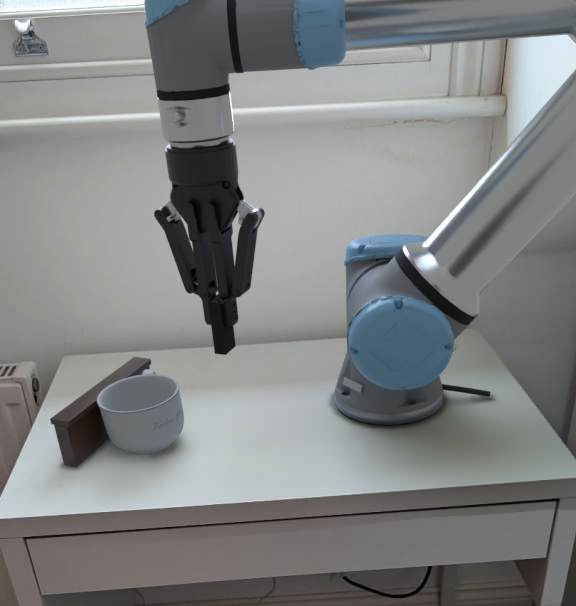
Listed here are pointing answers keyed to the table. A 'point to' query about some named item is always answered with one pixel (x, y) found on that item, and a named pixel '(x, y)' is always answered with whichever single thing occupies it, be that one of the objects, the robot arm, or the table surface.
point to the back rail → (89, 417)
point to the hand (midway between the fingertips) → (225, 349)
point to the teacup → (142, 412)
